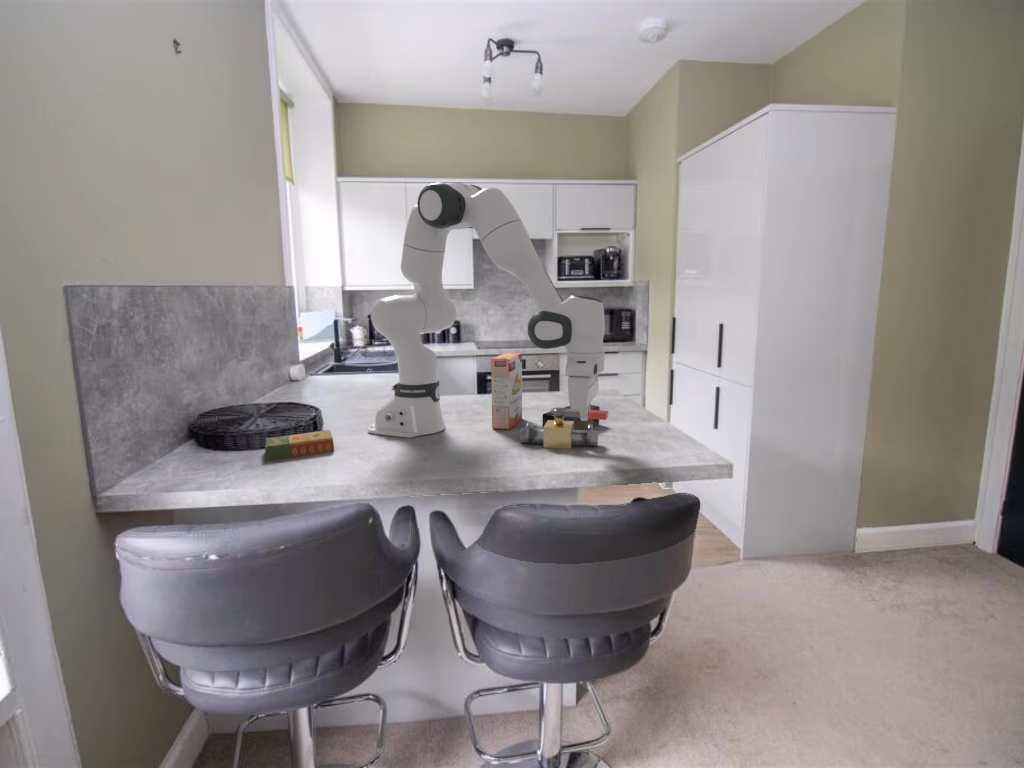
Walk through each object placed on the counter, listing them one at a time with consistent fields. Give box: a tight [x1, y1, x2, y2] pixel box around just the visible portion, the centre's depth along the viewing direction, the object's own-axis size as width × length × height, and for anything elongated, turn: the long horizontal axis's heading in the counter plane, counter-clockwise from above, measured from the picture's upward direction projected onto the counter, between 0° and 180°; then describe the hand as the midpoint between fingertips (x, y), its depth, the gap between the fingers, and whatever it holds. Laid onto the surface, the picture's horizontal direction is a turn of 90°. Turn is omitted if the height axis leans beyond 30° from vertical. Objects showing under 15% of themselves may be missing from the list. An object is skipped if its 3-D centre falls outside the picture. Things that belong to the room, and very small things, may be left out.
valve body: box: [519, 416, 599, 450], centre depth 134 cm, size 20×7×8 cm, turn 77°
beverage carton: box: [541, 404, 601, 430], centre depth 148 cm, size 8×19×7 cm, turn 140°
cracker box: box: [490, 352, 523, 431], centre depth 154 cm, size 14×6×21 cm, turn 164°
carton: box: [264, 429, 335, 461], centre depth 133 cm, size 8×16×4 cm, turn 114°
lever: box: [550, 407, 609, 421], centre depth 131 cm, size 14×4×2 cm, turn 69°
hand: (584, 419), depth 125 cm, fingers closed
